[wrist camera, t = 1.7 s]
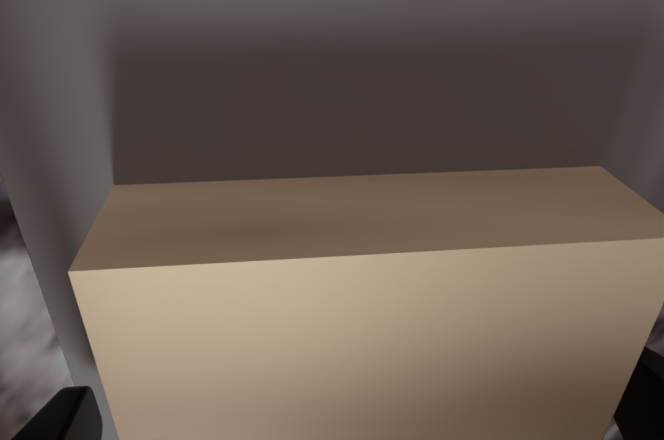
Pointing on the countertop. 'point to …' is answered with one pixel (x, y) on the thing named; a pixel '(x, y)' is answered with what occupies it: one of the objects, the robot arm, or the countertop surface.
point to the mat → (307, 103)
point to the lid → (371, 305)
